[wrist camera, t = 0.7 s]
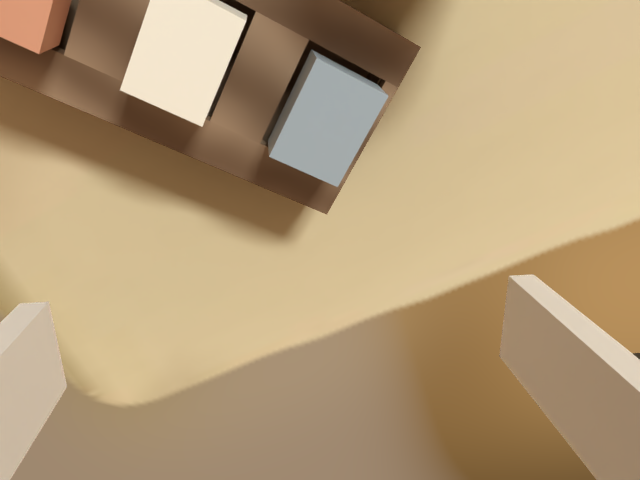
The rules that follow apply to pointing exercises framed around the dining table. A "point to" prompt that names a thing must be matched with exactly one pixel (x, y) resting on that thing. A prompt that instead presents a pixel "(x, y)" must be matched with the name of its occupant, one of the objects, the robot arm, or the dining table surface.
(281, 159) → the slate key
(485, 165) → the dining table surface
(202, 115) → the ivory key
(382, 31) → the key console
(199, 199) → the dining table surface
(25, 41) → the terracotta key
